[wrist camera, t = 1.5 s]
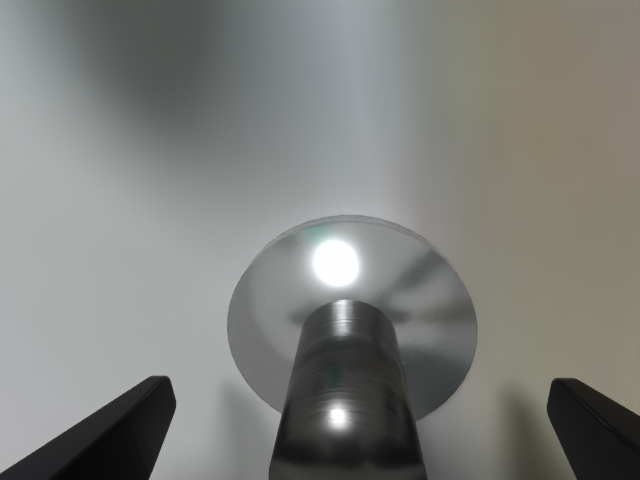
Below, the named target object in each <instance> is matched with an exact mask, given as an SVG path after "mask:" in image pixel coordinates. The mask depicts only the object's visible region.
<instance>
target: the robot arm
mask: <svg viewBox="0 0 640 480" xmlns="http://www.w3.org/2000/svg"><path fill="white" fill-rule="evenodd" d="M175 409H176V399H175V395H174V391H173V388H172V384H171V381H170V378H169V377H168V376H150V377H149V378H147V379H145V380H144V381H142V382H141V383H139V384H138V385H136V386H135V387H133V388H132V389H130V390H128V391H127V392H125V393H124V394H122V395H121V396H119V397H118V398H116V399H115V400H113V401H111V402H110V403H108V404H107V405H105V406H104V407H102V408H101V409H99V410H98V411H96V412H94V413H93V414H91V415H90V416H88V417H87V418H85V419H84V420H82V421H81V422H79V423H77V424H76V425H74V426H73V427H71V428H70V429H68V430H67V431H65V432H64V433H62V434H60V435H59V436H57V437H56V438H54V439H53V440H51V441H50V442H48V443H47V444H45V445H44V446H42V447H40V448H39V449H37V450H36V451H34V452H33V453H31V454H30V455H28V456H27V457H25V458H23V459H22V460H20V461H19V462H17V463H16V464H14V465H13V466H11V467H10V468H8V469H6V470H5V471H3V472H2V473H0V480H149V478H150V475H151V473H152V470H153V468H154V466H155V463H156V460H157V458H158V455H159V452H160V450H161V447H162V444H163V442H164V439H165V437H166V434H167V431H168V429H169V426H170V423H171V421H172V418H173V415H174V413H175ZM547 413H548V417H549V419H550V422H551V424H552V426H553V428H554V430H555V433H556V435H557V437H558V439H559V441H560V444H561V446H562V448H563V450H564V452H565V455H566V457H567V459H568V461H569V463H570V466H571V468H572V470H573V472H574V474H575V477H576V479H577V480H640V416H639V415H637V414H635V413H634V412H632V411H630V410H629V409H627V408H625V407H624V406H622V405H620V404H618V403H617V402H615V401H613V400H612V399H610V398H608V397H607V396H605V395H603V394H601V393H600V392H598V391H596V390H595V389H593V388H591V387H590V386H588V385H586V384H584V383H583V382H581V381H579V380H577V379H575V378H555V379H554V380H553V381H552V383H551V388H550V392H549V397H548V402H547Z"/></svg>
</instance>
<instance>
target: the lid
mask: <svg viewBox="0 0 640 480" xmlns="http://www.w3.org/2000/svg"><path fill="white" fill-rule="evenodd" d="M227 333H228V341H229V346H230V349H231V353H232V356H233V359H234V361H235V363H236V366H237V368H238V369H239V371H240V373H241V374H242V376H243V378H244V379H245V381H246V382H247V383H248V385H249V386H250V387H251V388H252V390H253V391H254V392H255V393H256V394H257V395H258V396H259V397H260V398H261V399H262V400H264V401H265V402H266V403H267V404H269V405H270V406H271V407H272V408H274V409H275V410H277V411H278V412H280V413H282V416H281V420H280V424H279V429H278V433H277V437H276V441H275V446H274V450H273V454H272V459H271V463H270V467H269V480H428V479H427V475H426V470H425V466H424V461H423V456H422V452H421V447H420V442H419V438H418V433H417V429H416V424H415V421H416V420H419V419H421V418H423V417H424V416H426V415H428V414H429V413H431V412H432V411H434V410H435V409H437V408H438V407H439V406H440V405H442V404H443V403H444V402H445V401H446V400H447V399H448V398H449V397H450V396H451V395H452V394H453V393H454V392H455V391H456V390H457V388H458V387H459V386H460V384H461V383H462V381H463V380H464V378H465V376H466V374H467V373H468V371H469V369H470V366H471V363H472V361H473V358H474V355H475V350H476V344H477V321H476V313H475V310H474V307H473V303H472V300H471V297H470V295H469V293H468V291H467V289H466V287H465V285H464V283H463V282H462V281H461V279H460V278H459V276H458V275H457V273H456V272H455V271H454V269H453V268H452V266H451V265H450V264H449V262H448V261H447V259H446V258H445V257H444V256H443V255H442V254H441V253H440V252H439V251H438V250H437V249H436V247H434V246H433V245H432V244H431V243H429V242H428V241H427V240H425V239H424V238H423V237H421V236H420V235H418V234H416V233H415V232H413V231H411V230H409V229H407V228H405V227H403V226H400V225H398V224H396V223H393V222H390V221H386V220H382V219H379V218H374V217H367V216H360V215H340V216H330V217H324V218H320V219H315V220H311V221H308V222H306V223H303V224H300V225H298V226H295V227H293V228H291V229H290V230H288V231H286V232H284V233H282V234H281V235H279V236H278V237H276V238H275V239H274V240H272V241H271V242H270V243H269V244H267V245H266V246H265V247H264V248H263V249H262V250H261V251H260V252H259V253H258V255H257V256H256V257H255V259H254V260H253V261H252V263H251V264H250V265H249V267H248V268H247V270H246V271H245V273H244V274H243V275H242V277H241V279H240V281H239V282H238V284H237V286H236V288H235V290H234V293H233V296H232V299H231V301H230V306H229V311H228V317H227Z"/></svg>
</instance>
